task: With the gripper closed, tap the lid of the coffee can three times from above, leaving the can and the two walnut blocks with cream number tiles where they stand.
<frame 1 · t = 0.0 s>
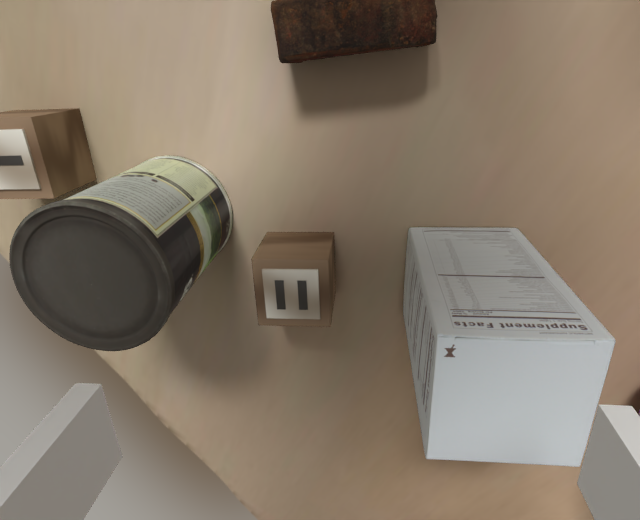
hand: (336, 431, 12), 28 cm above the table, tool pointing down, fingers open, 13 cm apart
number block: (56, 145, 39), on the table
coffee can: (178, 210, 41), on the table
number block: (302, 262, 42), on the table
brick: (355, 25, 33), on the table
supplement box: (457, 273, 41), on the table
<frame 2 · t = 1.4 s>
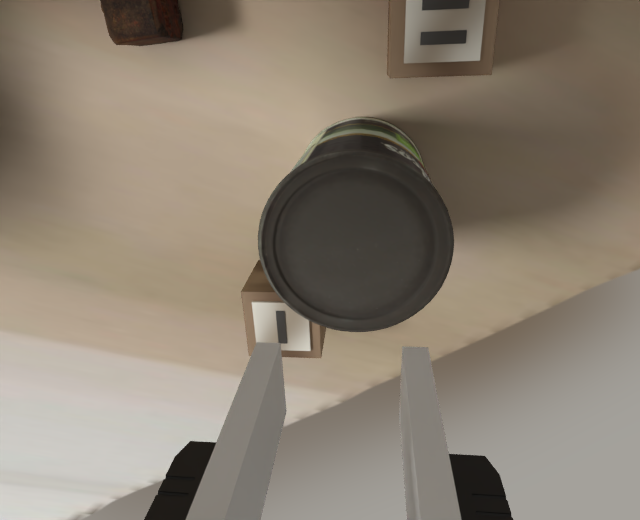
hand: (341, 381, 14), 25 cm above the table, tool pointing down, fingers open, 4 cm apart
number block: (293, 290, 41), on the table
coffee can: (359, 181, 37), on the table
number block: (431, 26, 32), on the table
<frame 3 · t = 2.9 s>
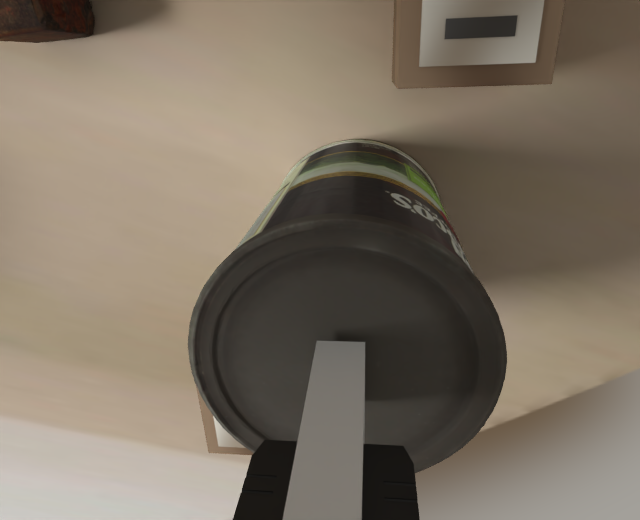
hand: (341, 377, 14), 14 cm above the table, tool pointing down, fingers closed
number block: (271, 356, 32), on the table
coffee can: (355, 223, 28), on the table, touching gripper
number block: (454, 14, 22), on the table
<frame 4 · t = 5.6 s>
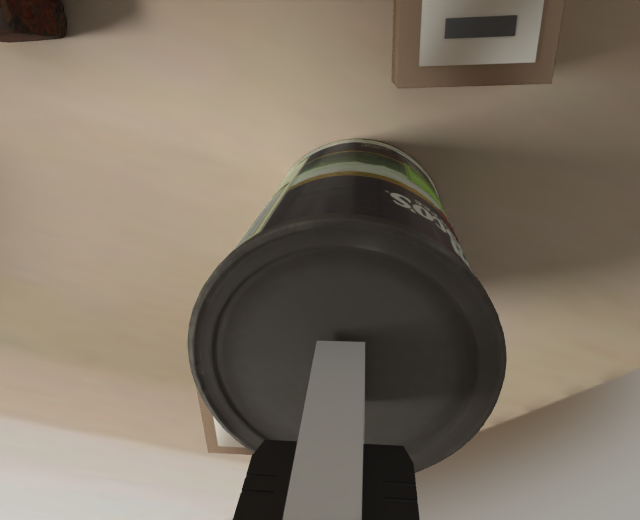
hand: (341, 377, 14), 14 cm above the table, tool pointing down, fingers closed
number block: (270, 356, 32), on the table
coffee can: (354, 223, 28), on the table, touching gripper
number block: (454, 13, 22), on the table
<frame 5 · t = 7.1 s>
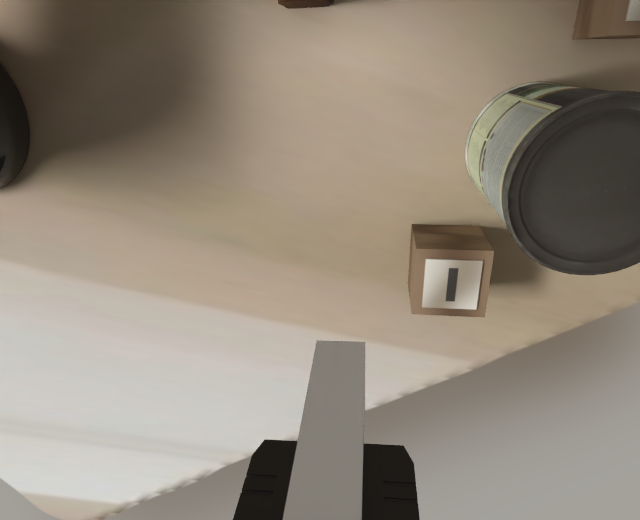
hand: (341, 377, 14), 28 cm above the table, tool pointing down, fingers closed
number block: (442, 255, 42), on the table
coffee can: (526, 146, 38), on the table
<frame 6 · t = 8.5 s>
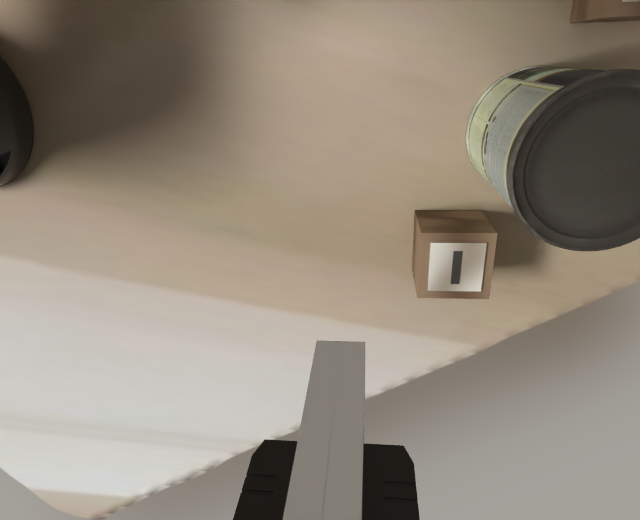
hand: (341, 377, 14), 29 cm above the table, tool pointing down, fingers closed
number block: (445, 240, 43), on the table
coffee can: (526, 130, 39), on the table
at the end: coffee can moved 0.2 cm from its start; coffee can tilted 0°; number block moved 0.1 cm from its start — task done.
